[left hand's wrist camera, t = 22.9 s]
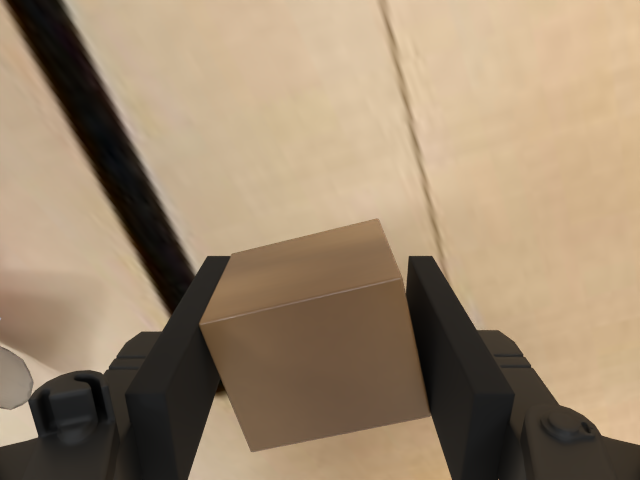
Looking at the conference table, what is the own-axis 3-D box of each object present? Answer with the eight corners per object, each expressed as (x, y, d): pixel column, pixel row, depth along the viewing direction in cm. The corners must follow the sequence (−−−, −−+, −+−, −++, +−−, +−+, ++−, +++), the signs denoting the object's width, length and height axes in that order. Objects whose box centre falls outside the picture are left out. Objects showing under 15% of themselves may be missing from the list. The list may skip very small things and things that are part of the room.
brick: (268, 356, 16) (250, 453, 12) (231, 253, 14) (197, 323, 10) (402, 326, 15) (432, 417, 11) (378, 217, 14) (402, 277, 10)
